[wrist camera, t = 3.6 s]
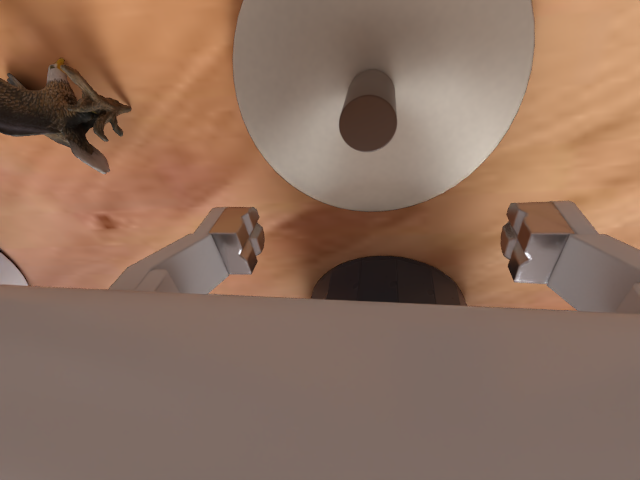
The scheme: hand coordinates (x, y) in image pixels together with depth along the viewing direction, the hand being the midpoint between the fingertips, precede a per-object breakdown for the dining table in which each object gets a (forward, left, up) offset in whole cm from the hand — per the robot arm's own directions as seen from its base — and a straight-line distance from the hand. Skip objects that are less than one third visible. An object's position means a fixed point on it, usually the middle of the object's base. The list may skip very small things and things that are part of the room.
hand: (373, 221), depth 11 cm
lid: (-1, +1, -11) cm, 11 cm away
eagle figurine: (-17, -11, -12) cm, 24 cm away
